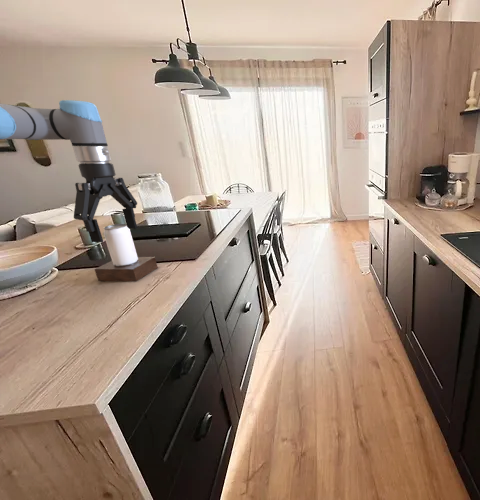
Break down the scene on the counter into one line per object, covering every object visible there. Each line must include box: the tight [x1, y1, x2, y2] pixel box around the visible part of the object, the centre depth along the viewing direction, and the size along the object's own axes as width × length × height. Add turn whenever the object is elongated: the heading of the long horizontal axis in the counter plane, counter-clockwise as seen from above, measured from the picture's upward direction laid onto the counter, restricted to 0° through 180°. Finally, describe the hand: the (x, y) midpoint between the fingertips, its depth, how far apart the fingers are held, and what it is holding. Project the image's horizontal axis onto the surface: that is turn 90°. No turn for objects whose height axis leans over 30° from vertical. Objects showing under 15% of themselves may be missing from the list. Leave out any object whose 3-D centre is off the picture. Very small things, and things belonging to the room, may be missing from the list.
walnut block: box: [94, 256, 159, 282], centre depth 92 cm, size 12×10×4 cm
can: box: [103, 223, 139, 266], centre depth 89 cm, size 6×6×12 cm
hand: (116, 234), depth 88 cm, fingers open, 13 cm apart
